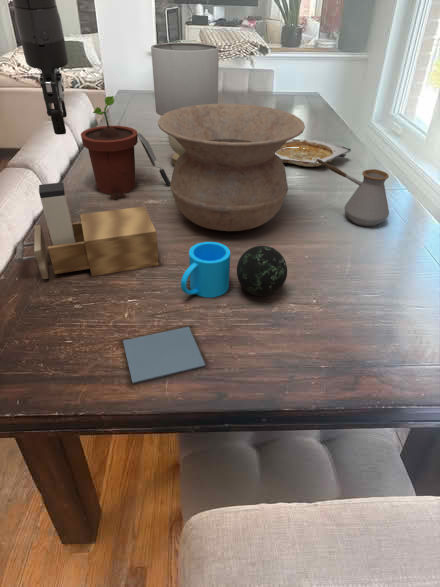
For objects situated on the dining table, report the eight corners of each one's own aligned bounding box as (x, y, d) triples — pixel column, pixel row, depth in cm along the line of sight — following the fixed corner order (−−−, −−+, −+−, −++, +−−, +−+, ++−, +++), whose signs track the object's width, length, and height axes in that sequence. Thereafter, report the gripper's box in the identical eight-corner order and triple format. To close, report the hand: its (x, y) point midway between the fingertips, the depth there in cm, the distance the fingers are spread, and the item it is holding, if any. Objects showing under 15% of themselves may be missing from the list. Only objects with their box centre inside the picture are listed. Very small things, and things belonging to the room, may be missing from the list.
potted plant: (115, 172, 136) (104, 89, 121) (171, 184, 129) (166, 97, 114) (78, 191, 123) (60, 100, 108) (138, 206, 116) (127, 111, 101)
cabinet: (91, 276, 88) (84, 241, 83) (86, 247, 98) (79, 214, 92) (158, 265, 92) (156, 231, 87) (147, 238, 102) (144, 206, 96)
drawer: (20, 282, 84) (11, 254, 80) (22, 254, 93) (13, 227, 89) (108, 268, 89) (104, 241, 85) (102, 243, 98) (98, 216, 94)
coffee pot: (385, 213, 115) (400, 160, 106) (386, 232, 106) (403, 176, 97) (308, 203, 120) (316, 151, 111) (303, 220, 111) (312, 165, 102)
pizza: (344, 176, 137) (351, 153, 154) (346, 164, 134) (353, 142, 151) (251, 165, 146) (268, 145, 163) (251, 153, 143) (268, 134, 160)
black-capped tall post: (57, 263, 88) (38, 192, 79) (56, 253, 91) (38, 184, 82) (78, 259, 90) (63, 189, 80) (77, 250, 93) (62, 182, 83)
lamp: (147, 166, 141) (136, 46, 120) (181, 150, 155) (177, 40, 134) (195, 178, 133) (193, 52, 112) (227, 161, 147) (231, 46, 125)
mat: (132, 384, 65) (132, 382, 65) (123, 342, 72) (122, 340, 72) (205, 366, 68) (205, 364, 68) (189, 328, 76) (188, 326, 75)
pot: (170, 191, 125) (165, 102, 110) (282, 193, 125) (293, 104, 110) (157, 249, 97) (148, 141, 82) (301, 251, 98) (318, 144, 83)
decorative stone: (281, 277, 89) (287, 237, 83) (286, 307, 81) (293, 264, 75) (235, 276, 89) (237, 235, 83) (235, 305, 81) (238, 262, 75)
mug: (208, 270, 91) (208, 237, 86) (236, 284, 87) (238, 251, 82) (168, 294, 84) (165, 260, 79) (197, 311, 79) (196, 276, 74)
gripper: (23, 25, 79) (44, 112, 90) (15, 46, 69) (40, 140, 80) (64, 26, 80) (79, 111, 91) (62, 46, 70) (80, 138, 82)
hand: (61, 125), depth 86 cm, fingers open, 8 cm apart
